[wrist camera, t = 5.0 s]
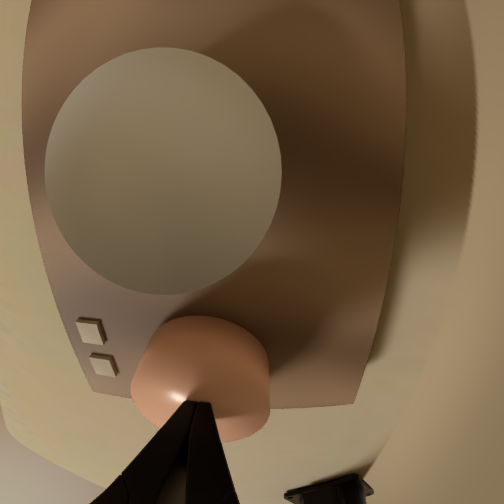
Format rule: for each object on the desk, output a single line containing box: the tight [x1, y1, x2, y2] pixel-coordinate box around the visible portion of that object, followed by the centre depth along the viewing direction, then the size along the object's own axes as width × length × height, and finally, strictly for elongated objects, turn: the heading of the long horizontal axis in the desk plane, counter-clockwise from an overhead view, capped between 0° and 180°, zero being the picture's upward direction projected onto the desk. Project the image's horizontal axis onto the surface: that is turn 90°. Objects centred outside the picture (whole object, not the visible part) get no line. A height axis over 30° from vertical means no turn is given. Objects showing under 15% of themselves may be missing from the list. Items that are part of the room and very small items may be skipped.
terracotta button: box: [130, 316, 270, 443], centre depth 9 cm, size 4×4×2 cm
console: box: [22, 0, 406, 409], centre depth 8 cm, size 20×12×2 cm, turn 1°
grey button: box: [45, 47, 282, 295], centre depth 6 cm, size 4×4×2 cm
